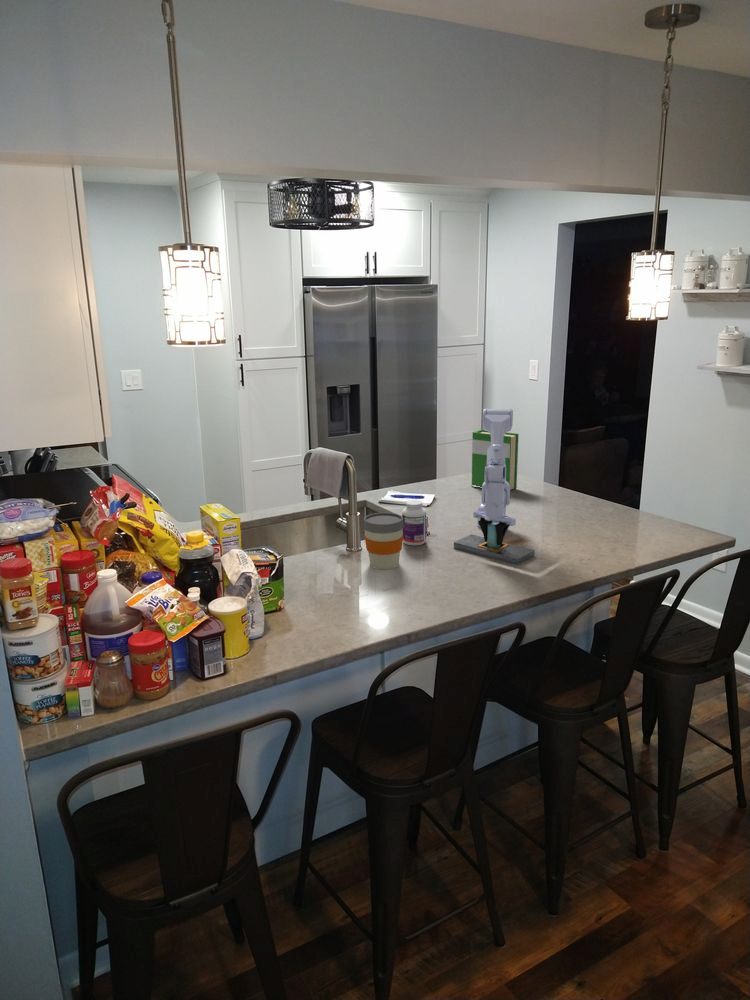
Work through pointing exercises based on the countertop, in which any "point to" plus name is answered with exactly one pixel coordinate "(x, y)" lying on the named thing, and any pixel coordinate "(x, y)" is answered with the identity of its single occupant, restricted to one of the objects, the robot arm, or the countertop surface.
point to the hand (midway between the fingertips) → (493, 542)
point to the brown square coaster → (515, 540)
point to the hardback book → (479, 457)
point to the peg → (492, 536)
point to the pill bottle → (414, 523)
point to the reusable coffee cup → (383, 539)
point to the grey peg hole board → (494, 550)
